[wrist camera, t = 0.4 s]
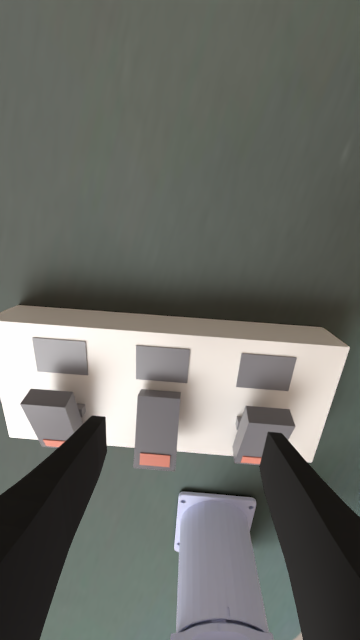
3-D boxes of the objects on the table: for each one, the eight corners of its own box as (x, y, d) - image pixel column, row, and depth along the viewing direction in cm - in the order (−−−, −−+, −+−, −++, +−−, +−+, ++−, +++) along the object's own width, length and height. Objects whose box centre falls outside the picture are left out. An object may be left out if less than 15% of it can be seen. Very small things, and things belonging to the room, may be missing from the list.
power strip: (294, 428, 23) (315, 469, 19) (-7, 404, 23) (-47, 438, 19) (322, 327, 19) (355, 351, 15) (-32, 301, 20) (-86, 318, 16)
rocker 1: (86, 434, 19) (79, 451, 18) (50, 431, 19) (41, 447, 18) (73, 391, 16) (64, 408, 15) (30, 388, 16) (19, 405, 15)
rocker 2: (175, 459, 18) (175, 472, 16) (137, 456, 18) (133, 468, 16) (180, 392, 17) (180, 399, 16) (140, 388, 17) (137, 396, 16)
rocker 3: (269, 449, 19) (273, 467, 18) (232, 446, 19) (234, 464, 18) (289, 409, 16) (295, 427, 15) (245, 405, 16) (248, 423, 15)
